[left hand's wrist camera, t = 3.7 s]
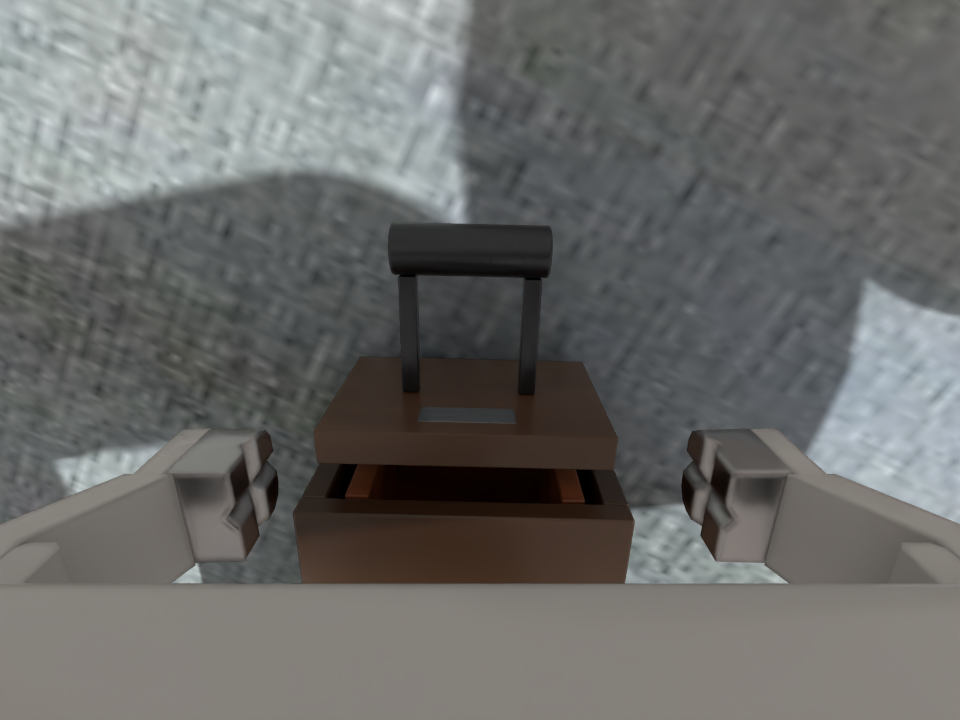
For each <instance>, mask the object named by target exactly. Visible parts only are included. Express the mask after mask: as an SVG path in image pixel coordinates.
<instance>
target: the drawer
mask: <svg viewBox="0 0 960 720" xmlns="http://www.w3.org/2000/svg"><path fill="white" fill-rule="evenodd" d="M552 250H553V238H552V230H551V227H550V226H538V225H495V224H452V223H408V222H394V223H392V224H391V226H390V230H389V237H388V257H389V265H390V269H391V272H392V274H394V275H399V277H398V286H399V313H400V340H401V358H400V357H360V358H359V359H358V361H357V362H356V364H355V365H354V367H353V369H352V370H351V372H350V373H349V375H348V377H347V378H346V380H345V381H344V383H343V385H342V386H341V388H340V389H339V391H338V393H337V394H336V396H335V397H334V399H333V401H332V402H331V404H330V405H329V407H328V409H327V410H326V412H325V413H324V415H323V416H322V418H321V420H320V421H319V423H318V424H317V426H316V428H315V429H314V431H313V432H314V442H315V451H316V460H317V463H323V464H358V465H357V468H356V470H355V473H354V475H353V477H352V480H351V482H350V485H349V487H348V490H347V492H346V494H345V499H373V500H415V501H457V502H499V503H541V504H583V505H585V499H584V496H583V492H582V489H581V485H580V482H579V478H578V475H577V472H576V470H614V465H615V457H616V450H617V443H618V437H617V435H616V433H615V431H614V429H613V427H612V424H611V422H610V420H609V418H608V416H607V414H606V412H605V410H604V407H603V405H602V403H601V401H600V399H599V397H598V395H597V393H596V390H595V388H594V386H593V384H592V382H591V380H590V378H589V376H588V373H587V371H586V369H585V367H584V365H583V363H582V362H571V361H537V352H538V337H539V322H540V307H541V292H542V279H541V278H548V276H549V274H550V270H551V263H552ZM418 275H427V276H470V277H513V278H523V293H522V312H521V331H520V350H519V360H485V359H443V358H420V344H419V301H418Z"/></svg>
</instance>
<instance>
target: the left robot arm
mask: <svg viewBox="0 0 960 720" xmlns="http://www.w3.org/2000/svg"><path fill="white" fill-rule="evenodd" d="M272 452H273V447H272V442H271V437H270V435H269V434H268V432H267V431H266V430H241V429H211V428H208V429H185V430H182V431H180V432H179V433H178V434H177V435H176V436H175V437H174V438H173V439H172V440H170V441H169V442H168V443H167V444H166V445H165V446H164V447H163V448H162V449H160V450H159V451H158V452H157V453H156V454H155V455H154V456H153V457H152V458H150V459H149V460H148V461H147V462H146V463H145V464H144V465H143V466H142V467H140V468H139V469H138V470H137V471H136V472H135V473H134V474H123V475H121V476H118V477H116V478H113V479H111V480H108V481H106V482H103V483H101V484H98V485H96V486H94V487H91V488H89V489H86V490H84V491H81V492H79V493H76V494H74V495H71V496H69V497H66V498H64V499H61V500H59V501H56V502H54V503H51V504H49V505H46V506H44V507H41V508H39V509H36V510H34V511H31V512H29V513H26V514H24V515H21V516H19V517H16V518H14V519H11V520H9V521H6V522H4V523H1V524H0V720H960V524H958V523H956V522H953V521H951V520H948V519H946V518H943V517H941V516H938V515H936V514H933V513H931V512H928V511H926V510H923V509H921V508H919V507H916V506H914V505H911V504H909V503H906V502H904V501H901V500H899V499H896V498H894V497H891V496H889V495H886V494H884V493H881V492H879V491H876V490H874V489H871V488H869V487H866V486H864V485H861V484H859V483H856V482H854V481H852V480H849V479H847V478H844V477H842V476H839V475H837V474H826V473H825V472H824V471H823V470H822V469H821V468H820V467H818V466H817V465H816V464H815V463H814V462H813V461H812V460H811V459H810V458H809V457H807V456H806V455H805V454H804V453H803V452H802V451H801V450H800V449H799V448H797V447H796V446H795V445H794V444H793V443H792V442H791V441H790V440H789V439H788V438H786V437H785V436H784V435H783V434H782V433H781V432H780V431H779V430H775V429H772V428H767V429H725V430H697V431H692V433H691V435H690V438H689V441H688V446H687V452H688V453H689V455H690V456H691V458H692V460H693V461H692V462H691V463H690V464H689V465H688V466H687V467H686V468H685V469H684V470H683V477H682V485H681V487H682V498H683V502H684V506H685V509H686V511H687V513H688V515H689V516H690V518H691V519H692V520H693V521H695V522H696V523H698V524H700V525H701V526H702V530H701V537H702V539H703V541H704V542H705V544H706V546H707V547H708V549H709V551H710V552H711V554H712V556H713V557H714V559H715V561H716V562H753V563H765V566H767V567H768V568H769V569H771V570H772V571H773V572H775V573H776V574H777V575H779V576H780V577H781V578H783V579H784V580H785V581H787V582H788V583H789V584H319V583H172V582H173V581H175V580H176V579H177V578H179V577H180V576H181V575H183V574H184V573H185V572H187V571H188V570H190V569H191V568H192V567H194V566H195V563H207V562H243V561H245V559H246V557H247V556H248V554H249V552H250V551H251V549H252V547H253V546H254V544H255V542H256V541H257V539H258V537H259V530H258V526H259V525H260V524H262V523H264V522H265V521H267V520H268V519H269V518H270V516H271V515H272V513H273V511H274V509H275V506H276V501H277V497H278V476H277V470H276V469H275V468H274V467H273V466H272V465H271V464H270V463H269V462H268V461H267V460H268V458H269V456H270V455H271V453H272Z"/></svg>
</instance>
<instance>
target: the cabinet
mask: <svg viewBox="0 0 960 720" xmlns="http://www.w3.org/2000/svg"><path fill="white" fill-rule="evenodd" d="M357 465H358V464H323V463H320V464H319V466H318V468H317V470H316V471H315V473H314V475H313V477H312V479H311V481H310V482H309V484H308V486H307V488H306V490H305V492H304V494H303V495H302V498H301V499H300V501H299V503H298V505H297V506H296V508H295V510H294V512H293V518H294V526H295V533H296V540H297V548H298V555H299V562H300V570H301V577H302V583H319V584H625V580H626V573H627V567H628V561H629V555H630V549H631V542H632V536H633V530H634V524H635V521H634V518H633V516H632V513H631V511H630V509H629V506H628V503H627V501H626V498H625V496H624V493H623V491H622V488H621V486H620V483H619V481H618V479H617V476H616V474H615V471H614V470H576V472H577V475H578V478H579V482H580V485H581V489H582V492H583V496H584V499H585V505H583V504H541V503H499V502H457V501H415V500H373V499H345V494H346V492H347V490H348V487H349V485H350V482H351V480H352V477H353V475H354V473H355V470H356V468H357Z"/></svg>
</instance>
